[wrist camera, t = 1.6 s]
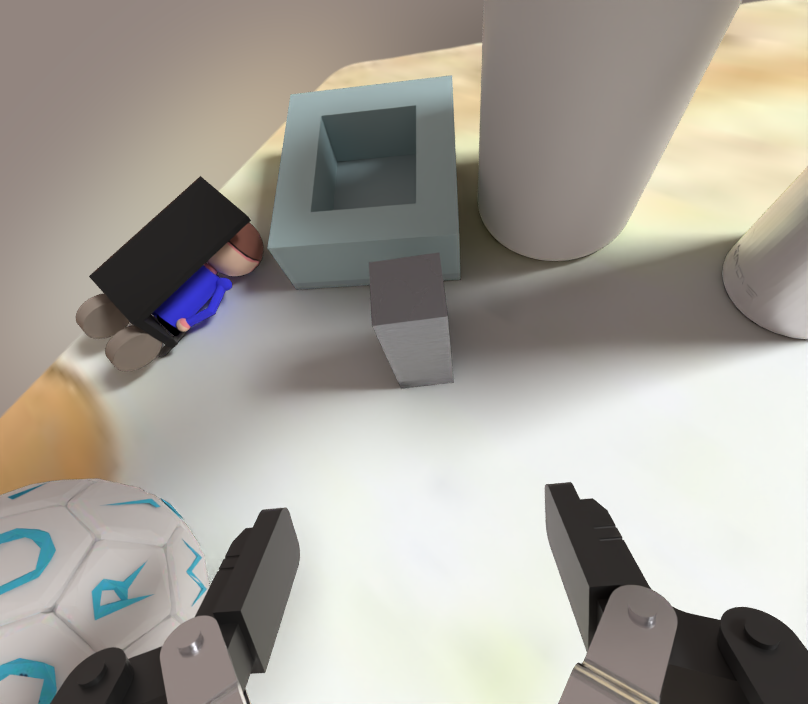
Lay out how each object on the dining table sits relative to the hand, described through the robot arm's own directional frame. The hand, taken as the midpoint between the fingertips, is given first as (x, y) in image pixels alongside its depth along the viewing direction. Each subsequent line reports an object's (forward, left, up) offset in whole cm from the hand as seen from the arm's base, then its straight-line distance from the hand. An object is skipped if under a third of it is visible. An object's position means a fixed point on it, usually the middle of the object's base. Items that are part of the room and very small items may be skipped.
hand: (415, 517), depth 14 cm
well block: (+5, -27, -17) cm, 32 cm away
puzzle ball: (+20, +5, -17) cm, 27 cm away
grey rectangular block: (+1, -12, -17) cm, 21 cm away
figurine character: (+21, -18, -17) cm, 33 cm away
